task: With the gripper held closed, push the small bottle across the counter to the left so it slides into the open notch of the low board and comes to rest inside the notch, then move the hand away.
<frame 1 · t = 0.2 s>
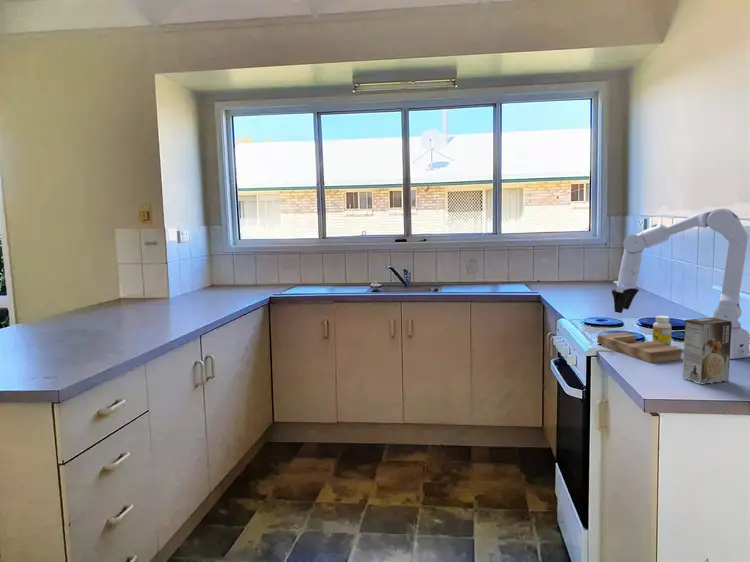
hand: (621, 310, 197), 10 cm above the countertop, tool pointing down, fingers open, 7 cm apart
board: (636, 351, 185), on the countertop
supplement bottle: (661, 346, 191), on the countertop
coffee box: (704, 380, 156), on the countertop
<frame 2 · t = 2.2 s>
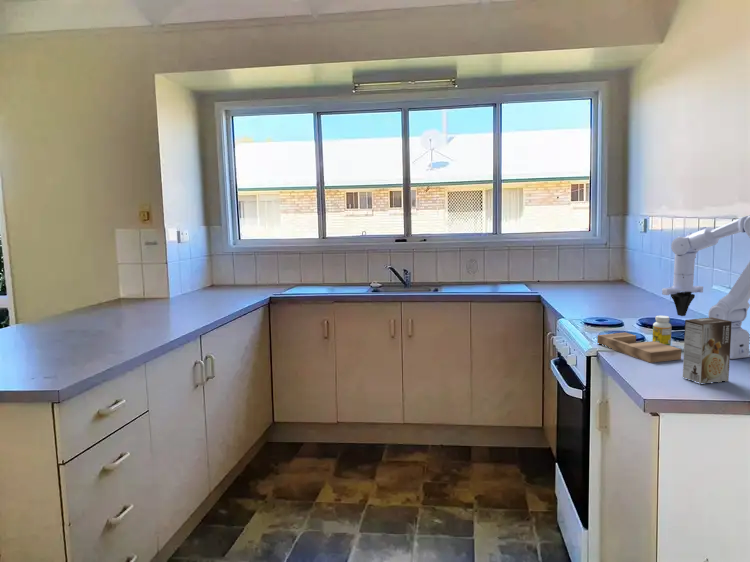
hand: (681, 315, 192), 9 cm above the countertop, tool pointing down, fingers closed
nothing on the countertop moved.
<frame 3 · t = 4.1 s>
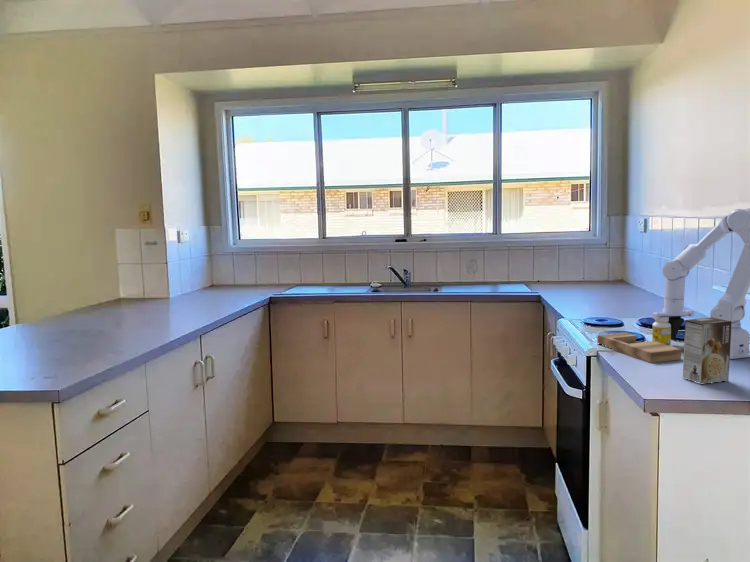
hand: (671, 339, 192), 2 cm above the countertop, tool pointing down, fingers closed, pressing on supplement bottle
supplement bottle: (661, 346, 191), on the countertop, touching gripper
everything else where it was.
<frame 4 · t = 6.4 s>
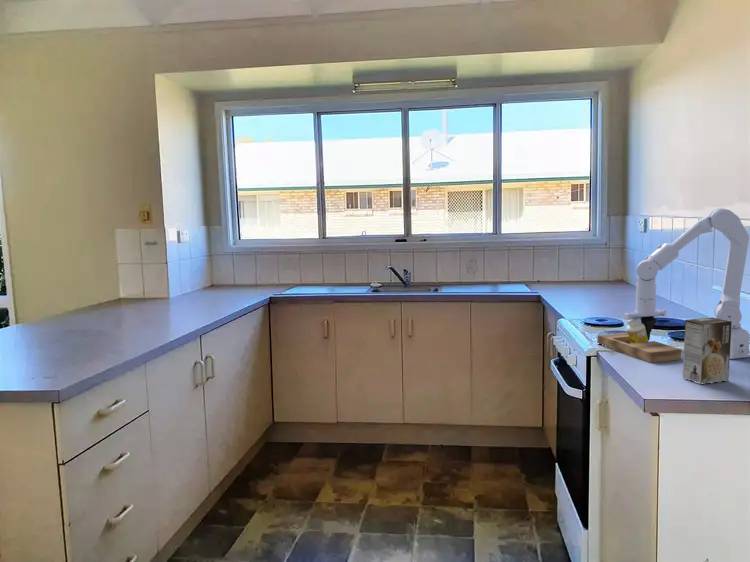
hand: (644, 339, 189), 2 cm above the countertop, tool pointing down, fingers closed, pressing on supplement bottle
supplement bottle: (640, 347, 189), on the countertop, touching gripper
everything else where it was.
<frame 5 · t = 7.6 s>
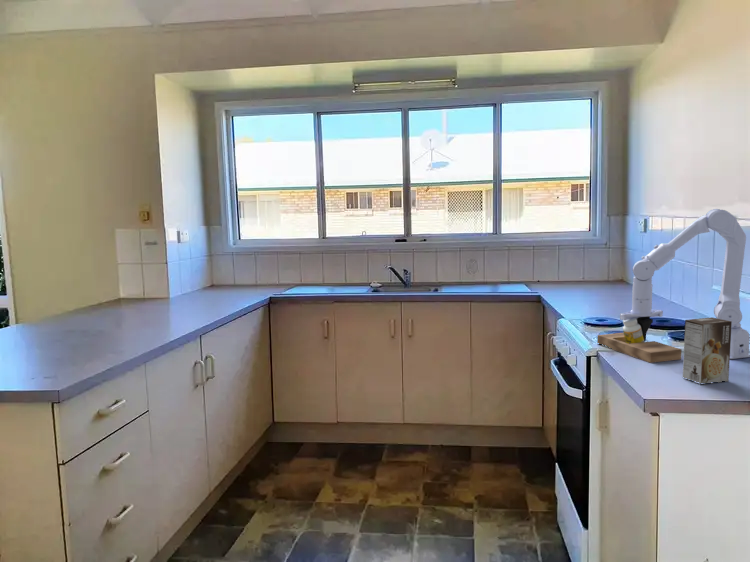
hand: (640, 340, 189), 2 cm above the countertop, tool pointing down, fingers closed, pressing on supplement bottle
supplement bottle: (636, 347, 189), on the countertop, touching gripper
everything else where it was.
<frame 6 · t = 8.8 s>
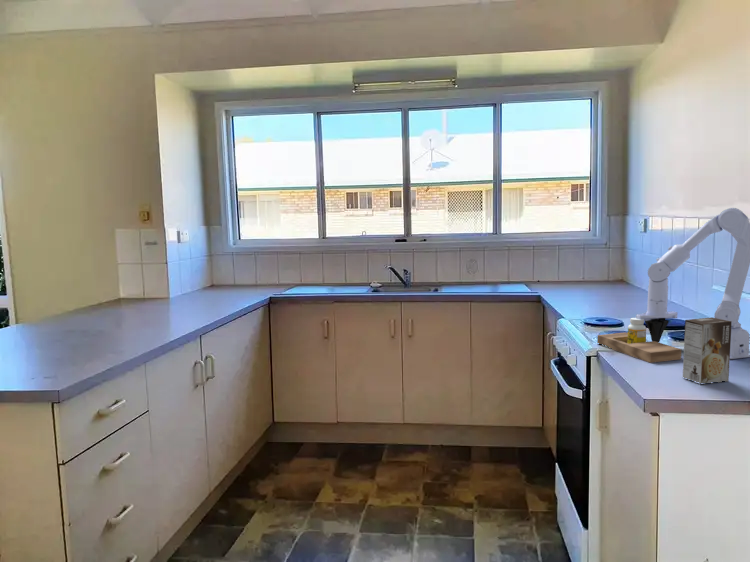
hand: (655, 341, 190), 2 cm above the countertop, tool pointing down, fingers closed
supplement bottle: (636, 348, 189), on the countertop
everything else where it was.
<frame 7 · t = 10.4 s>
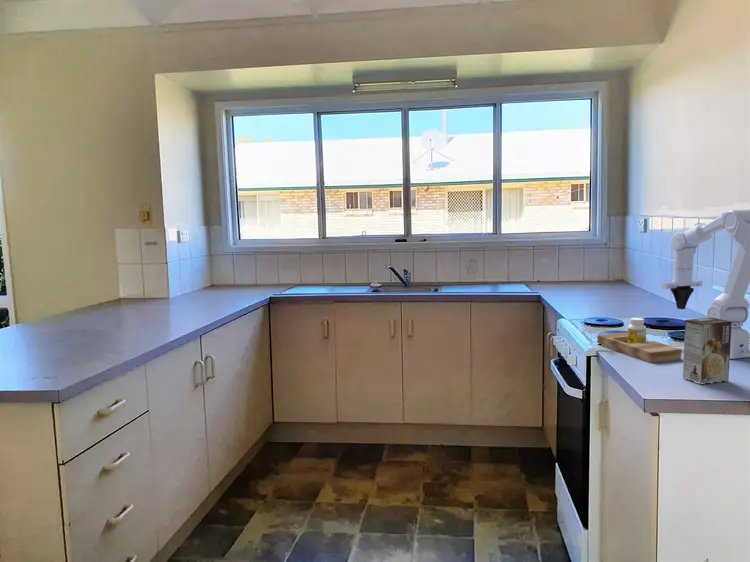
hand: (680, 308, 198), 10 cm above the countertop, tool pointing down, fingers closed
nothing on the countertop moved.
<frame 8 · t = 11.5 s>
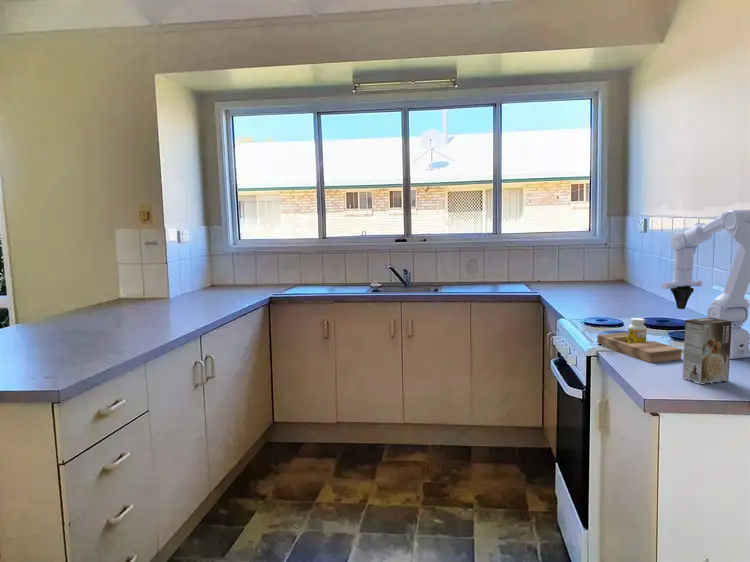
hand: (680, 308, 198), 10 cm above the countertop, tool pointing down, fingers closed
nothing on the countertop moved.
at the end: supplement bottle 2.3 cm from the target spot on the board, point 0.0 cm above the board's base; supplement bottle tilted 0° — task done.
